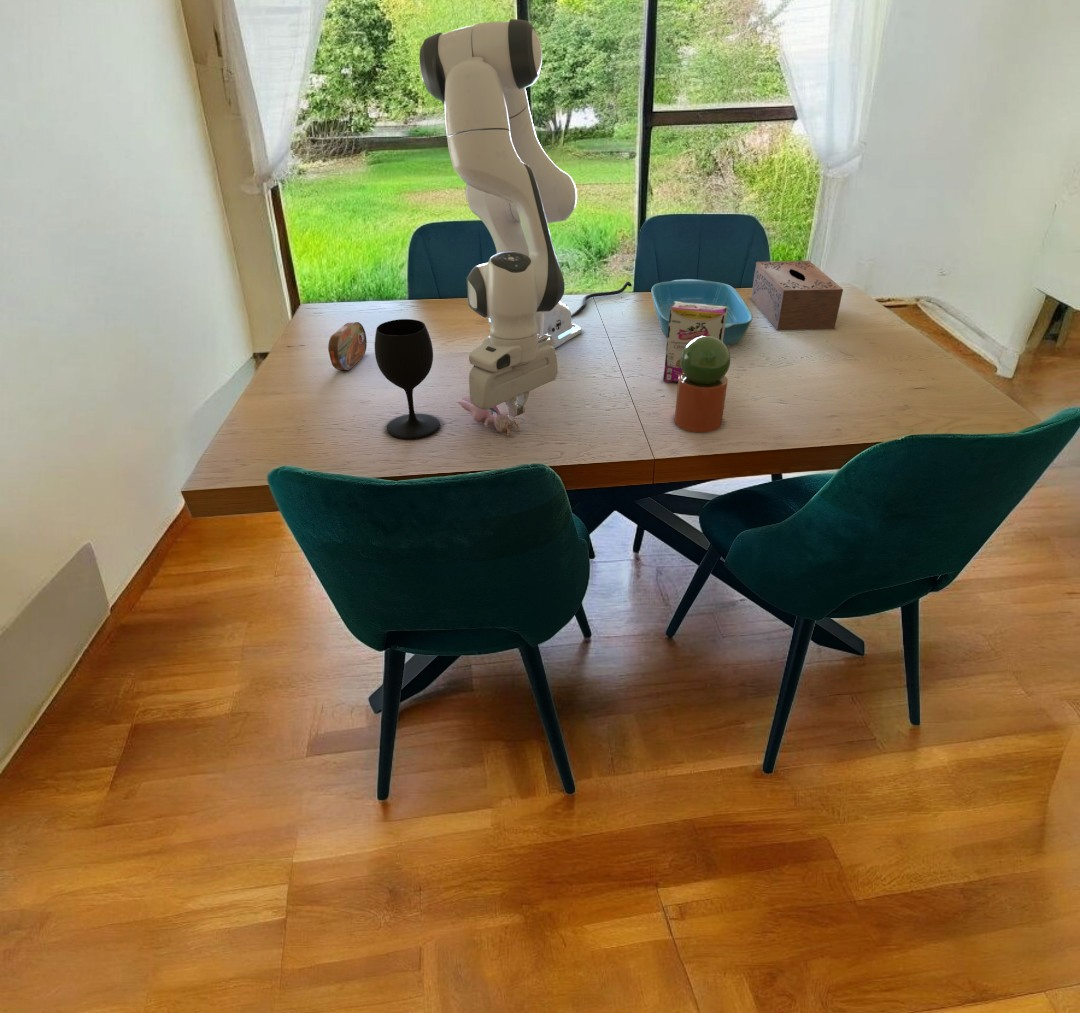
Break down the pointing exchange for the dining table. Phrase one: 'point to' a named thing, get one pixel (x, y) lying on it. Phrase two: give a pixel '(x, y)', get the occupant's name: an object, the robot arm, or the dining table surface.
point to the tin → (347, 346)
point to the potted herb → (702, 385)
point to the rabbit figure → (488, 416)
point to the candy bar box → (690, 331)
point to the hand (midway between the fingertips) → (516, 414)
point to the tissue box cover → (796, 295)
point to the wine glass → (406, 371)
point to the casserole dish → (703, 294)
